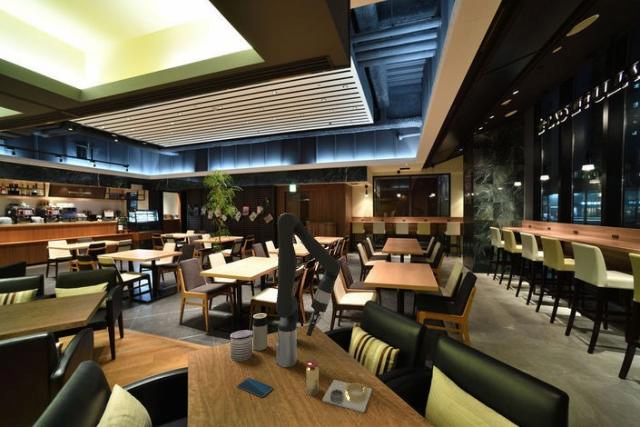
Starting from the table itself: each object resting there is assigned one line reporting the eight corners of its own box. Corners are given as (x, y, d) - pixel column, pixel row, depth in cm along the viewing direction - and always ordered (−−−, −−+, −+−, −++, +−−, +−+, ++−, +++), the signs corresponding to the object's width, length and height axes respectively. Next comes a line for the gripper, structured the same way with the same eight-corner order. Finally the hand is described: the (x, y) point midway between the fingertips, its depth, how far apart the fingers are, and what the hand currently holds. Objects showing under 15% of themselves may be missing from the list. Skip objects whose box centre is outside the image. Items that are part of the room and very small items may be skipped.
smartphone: (262, 399, 111) (262, 397, 111) (235, 388, 119) (235, 386, 119) (274, 389, 118) (274, 387, 118) (248, 379, 125) (248, 376, 125)
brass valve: (304, 393, 114) (304, 364, 114) (309, 386, 119) (309, 358, 119) (315, 397, 112) (315, 367, 112) (320, 389, 117) (320, 360, 117)
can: (229, 362, 139) (229, 338, 139) (231, 351, 150) (231, 329, 150) (252, 359, 141) (252, 336, 141) (252, 349, 152) (252, 327, 152)
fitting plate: (322, 401, 109) (322, 395, 110) (334, 381, 122) (334, 376, 122) (364, 412, 103) (364, 406, 103) (372, 390, 116) (372, 385, 116)
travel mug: (263, 351, 149) (263, 318, 150) (250, 350, 151) (250, 317, 151) (269, 344, 157) (269, 313, 157) (256, 343, 159) (256, 312, 159)
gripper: (315, 294, 139) (304, 325, 137) (312, 299, 125) (300, 334, 123) (329, 299, 138) (318, 331, 137) (328, 306, 124) (315, 341, 122)
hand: (309, 332), depth 130 cm, fingers open, 8 cm apart
